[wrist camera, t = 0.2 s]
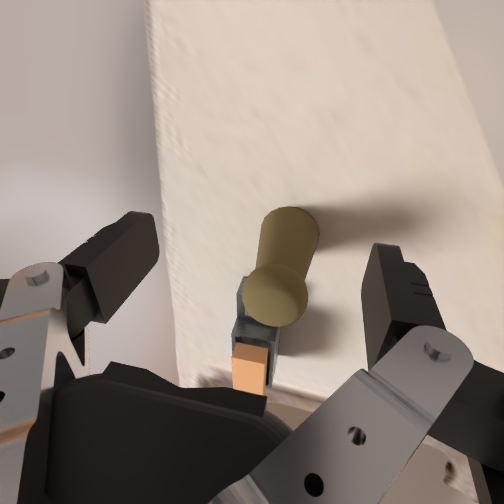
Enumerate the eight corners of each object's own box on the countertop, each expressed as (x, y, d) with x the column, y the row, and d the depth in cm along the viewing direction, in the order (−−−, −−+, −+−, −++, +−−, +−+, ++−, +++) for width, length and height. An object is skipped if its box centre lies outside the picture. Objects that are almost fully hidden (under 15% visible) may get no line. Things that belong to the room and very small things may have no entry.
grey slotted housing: (243, 276, 37) (230, 310, 32) (284, 283, 36) (277, 319, 32) (244, 348, 45) (233, 382, 41) (277, 355, 44) (271, 391, 40)
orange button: (236, 342, 35) (231, 357, 33) (267, 348, 34) (264, 364, 32) (237, 381, 39) (233, 395, 38) (265, 387, 39) (262, 402, 37)
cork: (249, 226, 32) (216, 300, 24) (295, 195, 29) (276, 268, 20) (285, 264, 34) (266, 346, 26) (331, 239, 31) (328, 323, 22)
